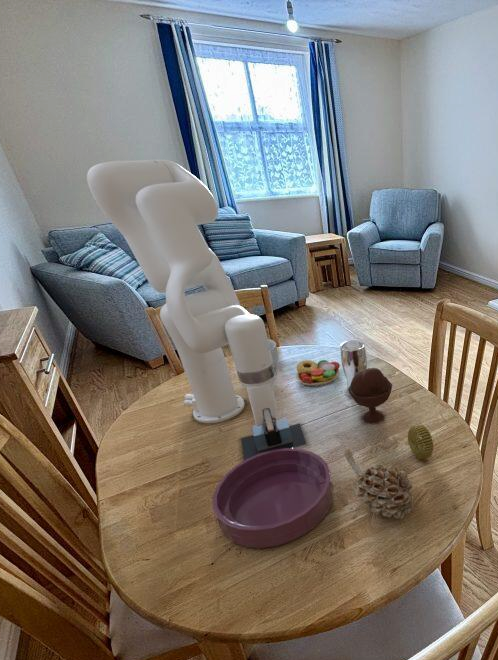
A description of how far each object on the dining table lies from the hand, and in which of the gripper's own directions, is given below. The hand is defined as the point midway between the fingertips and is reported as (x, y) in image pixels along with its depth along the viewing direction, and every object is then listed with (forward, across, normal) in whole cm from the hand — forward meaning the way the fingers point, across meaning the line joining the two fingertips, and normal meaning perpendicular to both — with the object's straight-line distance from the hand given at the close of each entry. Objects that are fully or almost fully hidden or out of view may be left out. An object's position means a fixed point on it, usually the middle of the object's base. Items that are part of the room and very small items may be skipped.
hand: (273, 437), depth 98 cm
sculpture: (+2, +20, +30) cm, 36 cm away
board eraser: (+1, 0, 0) cm, 1 cm away
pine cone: (+2, +27, +16) cm, 32 cm away
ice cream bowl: (+2, 0, +25) cm, 25 cm away
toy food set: (+2, -28, +17) cm, 32 cm away
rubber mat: (+2, 0, 0) cm, 2 cm away
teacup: (+2, -41, 0) cm, 41 cm away
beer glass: (+2, -14, +25) cm, 28 cm away
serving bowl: (+2, +21, -2) cm, 21 cm away
